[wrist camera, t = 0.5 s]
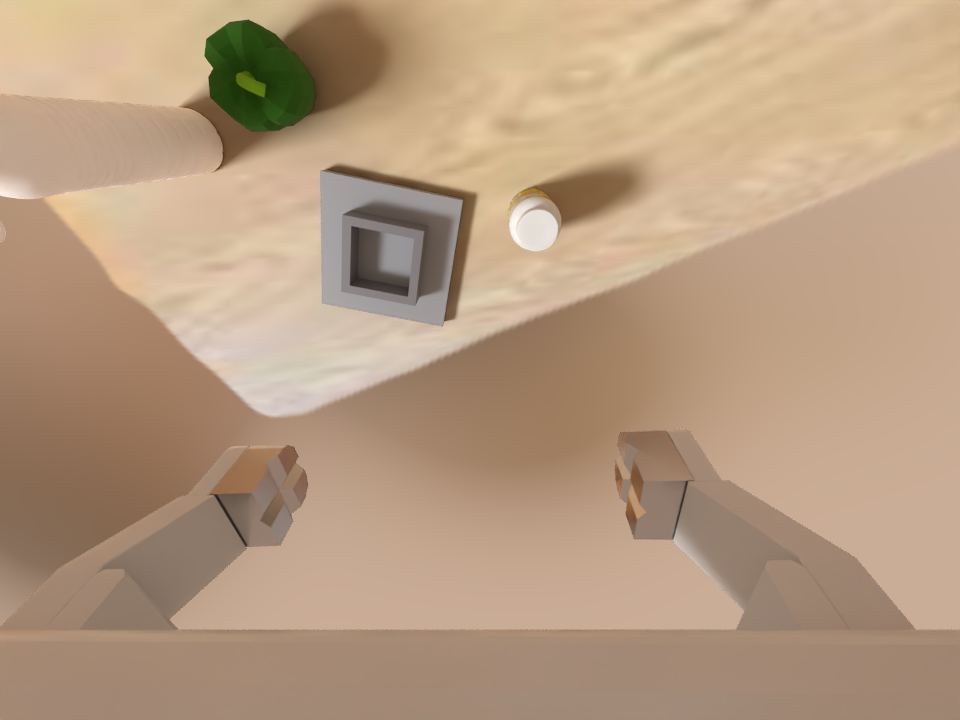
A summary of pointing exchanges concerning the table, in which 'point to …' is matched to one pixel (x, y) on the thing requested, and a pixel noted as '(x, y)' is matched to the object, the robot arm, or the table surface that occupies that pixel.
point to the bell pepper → (258, 77)
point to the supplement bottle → (534, 220)
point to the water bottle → (98, 145)
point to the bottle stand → (387, 247)
